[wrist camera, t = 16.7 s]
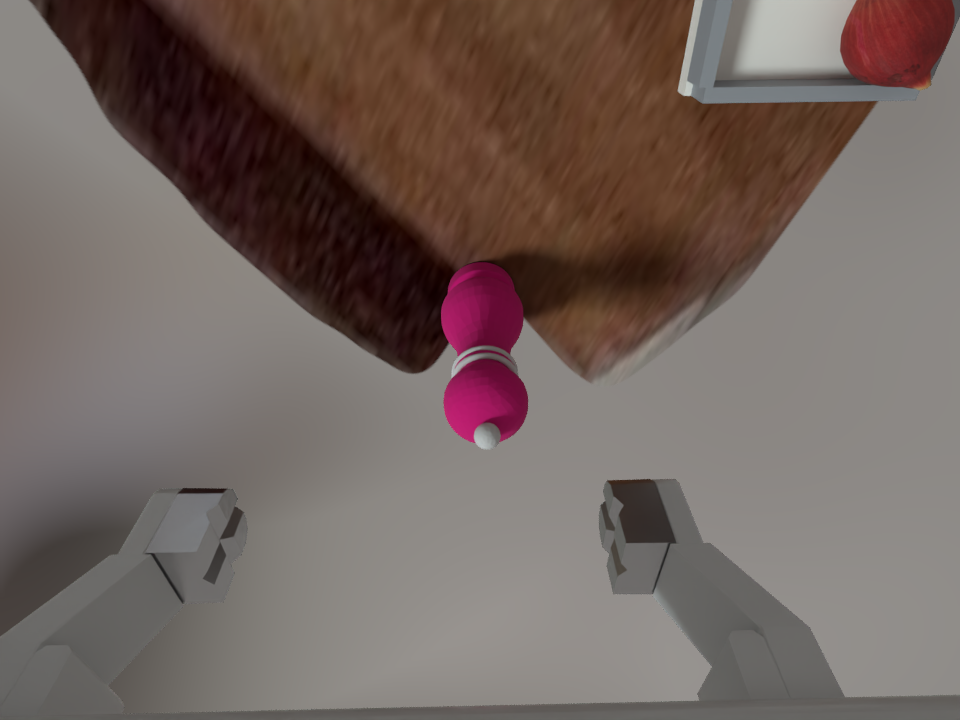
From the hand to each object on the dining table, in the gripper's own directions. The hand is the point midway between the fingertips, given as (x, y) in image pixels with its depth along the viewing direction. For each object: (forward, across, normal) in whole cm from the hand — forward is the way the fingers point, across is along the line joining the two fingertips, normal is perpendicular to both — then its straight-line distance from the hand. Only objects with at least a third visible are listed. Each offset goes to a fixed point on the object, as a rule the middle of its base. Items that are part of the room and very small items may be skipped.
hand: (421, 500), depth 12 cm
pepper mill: (+37, -2, +16) cm, 41 cm away
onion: (+34, -26, -8) cm, 44 cm away
